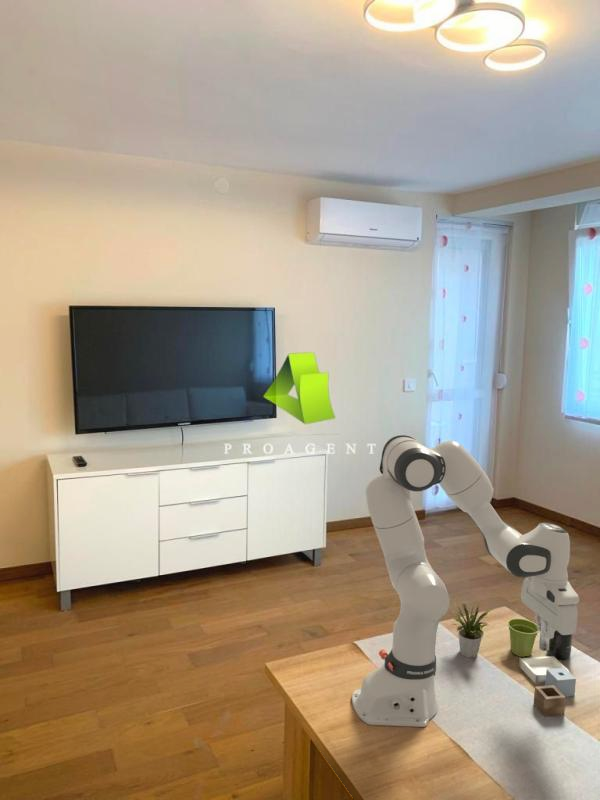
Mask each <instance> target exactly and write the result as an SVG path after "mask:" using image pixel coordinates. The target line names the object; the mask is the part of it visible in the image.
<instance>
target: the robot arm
mask: <svg viewBox="0 0 600 800" xmlns="http://www.w3.org/2000/svg"><path fill="white" fill-rule="evenodd" d="M379 472H380V474H381V475H380V476H377V477H375V478H374V479H372V480H371V481H370V482H369V483H368V484H367V487H366V490H365V496H366V498H365V499H366V503H367V509H368V511H369V512H368V513H369V516H370V519H371V523H372V525H373V528H374V530H375V534H376V537H377V540H378V542H379V545H380V547H381V550H382V554H383V556H384V557H383V558H384V562H385V565H386V569H387V572H388V575H389V579H390V583H391V584H392V585H391V586H393V588H394V590H395V592H396V593H397V594H398V596H399V601H400V610H399V615H398V616H397V619H396V620H394V623H393V630H392V648H391V650H390V652H389V653H387V651H386V649H380V650H379V652H378V655H379V656H380V659H381V660H384V663H383V664H381V665H380V666H379V667H378V668H375V669H374V670H373V671H371V672H369V673H368V674H366V675H365V676H364V677H363V680H362V684H361V687H360V688H358V689H355V690H353V692H352V695H351V702H352V706H353V709H354V711H355V714H357V716H358V717H359V718H360V720H361V721H362V722H364V723H365V724H367V725H370V726H371V725H372V726H388V727H389V726H394V727H415V728H416V727H417V728H418V727H420V728H422V727H423V728H424V727H426V726H428V723H429V721H430V719H432V718H433V717H434V716H435V715H436V714H437V713H438V709H439V705H438V702H437V701H438V700H437V698H436V690H435V687H436V686H435V676H436V672H437V657H436V656H437V655H436V645H437V631H438V627H439V624H440V621H441V618H443V617H444V616H445V614H446V615H447V612H448V610H449V608H450V605H451V603H450V602H451V601H450V600H451V599H450V596H449V593H448V590H447V587H446V584H445V583H444V581H443V580H442V579H441V578H440V577H439V575H438V574H437V573H436V572H435V570H434V569H433V567H432V566H431V564H430V562H429V559H428V557H427V553H426V550H425V548H426V547H425V536H424V535H423V531H422V528H421V526H420V523H419V519H418V516H417V514H416V511H415V508H414V505H413V503H412V499H411V492H423V491H426V490H429V489H430V488H432V487H433V486H436V485H439V486H440V487H441V489H442V490H443V491H444V493H445V494H446V496H447V497H448V498H449V499H450V500H451V501H452V502H453V503H454V505H455V506H456V507H458V508H459V509H460V510H462V512H464V513H467V514H468V515H469V517H470V518H471V520H473V522H474V523H475V525H476V527H477V528H478V529H479V530H480V532H481V534H482V538H483V543H484V548H485V549H486V552H487V554H488V555H490V557H492V558H493V559H495V561H497V562H498V563H499V564H500V565H501V566H502V567H504V568H505V569H506V570H507V571H508V573H509V572H510V573H511V574H512V575H514V576H515V577H517V578H524V579H523V582H522V585H521V591H520V598H521V599H520V600H521V602H522V604H524V605H525V606H527V607H528V609H530V610H531V611H532V612H534V617H535V623H536V624H537V629H538V630H539V632H540V630H541V618H542V619H543V620H545V621H546V622H547V623H548V627H549V628H548V630H545V636H546V637H547V638H548V639H552V638H554V632H555V631H556V630H557V631H558V632H559V633H560V634H562V635H570V634H573V635H574V634H575V633H576V631H577V625H578V615H579V614H578V613H579V611H578V607H577V605H578V604H579V603H580V597H579V594H578V593H577V592H576V590H575V589H574V588H573V587H572V585H571V583H570V582H569V579H568V577H569V574H568V565H569V563H570V556H571V542H570V541H571V540H570V536H569V535H570V534H569V533H568V531H566V529H565V528H563V527H561V526H560V525H556V524H554V523H549V522H539V524H538V525H537V526H536V527H535V528H534V529H532V530H531V531H529V532H527V533H524V534H522V533H520V532H519V531H518V530H517V528H515V527H514V526H513V525H511V524H508V523H507V522H505V521H503V520H502V519H501V517H500V516H499V514H498V513H497V511H496V510H495V509H494V507H493V506H492V504H491V501H492V498H493V495H494V492H495V489H494V486H493V485H492V482H491V480H490V478H489V477H488V475H487V473H486V472H485V471H484V469H483V467H481V465H480V464H479V462H478V461H477V460H476V459H475V457H473V455H472V454H471V453H470V452H468V449H466V448H465V447H464V446H462V445H461V444H460V443H459V442H457V441H455V440H446V441H442V442H440V443H438V444H437V445H435V447H432V448H429V447H426V446H425V445H424V444H423V443H421V442H420V441H418V440H417V439H416V438H414V437H412V436H409V435H405V434H404V435H403V434H402V435H401V434H400V435H399V434H398V435H396V436H393V437H391V438H390V439H388V440H387V442H385V444H384V446H383V448H382V453H381V459H380V465H379ZM576 604H577V605H576Z"/></svg>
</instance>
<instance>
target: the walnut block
mask: <svg viewBox="0 0 600 800" xmlns="http://www.w3.org/2000/svg"><path fill="white" fill-rule="evenodd" d="M566 697H567V696H564V695H563V694H562V693H561V692H560V691H559V690H558V689H557V688H556V687H555V686H554V685H550V686H545V685H539V686H534V695H533V706H534V707H536V709H537V710H538V711H539V712H540V713H541V714H542V715H543V716H544V718H547V716H549V717H557V716H559V715H560V716H564V715H565V710H566V699H567V698H566Z"/></svg>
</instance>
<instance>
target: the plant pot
mask: <svg viewBox="0 0 600 800" xmlns="http://www.w3.org/2000/svg"><path fill="white" fill-rule="evenodd" d="M507 626H508V629H509V642H510V651H511V652H512V653H513V654H514V655H516V656H519V657H523V658H525V657H526V656H527V657H531V655H532V653H533V649H534V644H535V641H536V637H537V636H538V633H540V631H539V630H538V629H537V623H536V622H534V621H531V620H529V619H525V618H511V619H509V620H508V621H507Z"/></svg>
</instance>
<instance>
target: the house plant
mask: <svg viewBox="0 0 600 800" xmlns="http://www.w3.org/2000/svg"><path fill="white" fill-rule="evenodd" d="M450 602H452V603H453V604H454V605H455V607H456V608H457V610H458V611H457V610H455V611H450V613H453V614H455V613H456V616H454V617H453V620H455V621H456V622H459V624H461V625H458V626H457V624H455V623H453V625H455V626H457V627H456V632H457V633H458V643H459V653H460V652H461V653H460V654H461V655H462V654H463V655H462V656H464V655H465V656H464V657H466V656H468V657H467V658H476V657H478V654H479V650H480V645H481V642H482V639H483V636H484V635H485V633H484V631H483V630H482V629H483V628H484V627H487V626H488V625H489V623H487V622H484V621H483V622H482V621H481V620H482V619H488V616H487V615H488V613H490V612H492V611H493V610H494V608H491V609H488V610H485V611H484V612H483V613H482V614H481V615H480V616H478V614H479V611H480V608H479V607H480V604H479V603H478V605H477V606H476V609H475V611H474V612H473V610H474V607H475V605H476V604H477V602H475V603H474V604H473V606H472V609H471V612H470V614H469V611H468V608H467V605H466V604H465V602H464V601H463V600H461V601H460V603H461V605H462V607H463V611H464V613H465V617H466V618H465V617H464V614H463V612H462V610H461V609H460V607H459V605H458V604H457V603H456V602H455V601H453V600H451V599H450ZM477 616H478V618H477ZM485 616H486V617H485ZM462 619H463V620H462ZM476 619H477V620H476ZM475 656H476V657H475Z"/></svg>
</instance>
